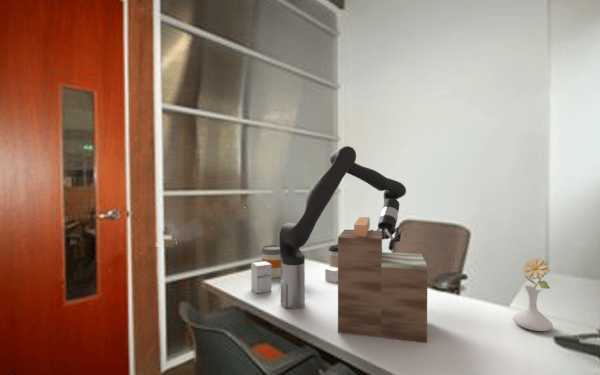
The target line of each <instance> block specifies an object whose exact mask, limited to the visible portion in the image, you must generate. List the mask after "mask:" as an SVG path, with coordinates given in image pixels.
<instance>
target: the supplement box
mask: <svg viewBox="0 0 600 375" xmlns="http://www.w3.org/2000/svg"><path fill="white" fill-rule="evenodd" d="M250 267H251V278H250V279H251V281H250V283H251V290H252V291H253V292H254V293H255V294H260V293H266V292H272V278H271V264H270V263H268V262H266V261H264V262H262V261H259V262H258V261H256V262H251V266H250Z"/></svg>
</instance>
